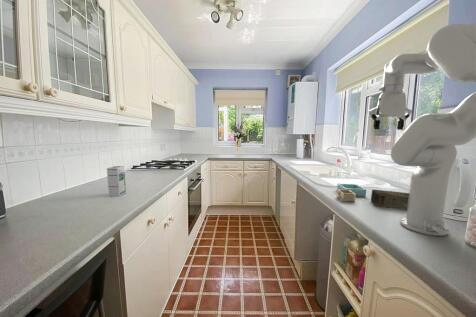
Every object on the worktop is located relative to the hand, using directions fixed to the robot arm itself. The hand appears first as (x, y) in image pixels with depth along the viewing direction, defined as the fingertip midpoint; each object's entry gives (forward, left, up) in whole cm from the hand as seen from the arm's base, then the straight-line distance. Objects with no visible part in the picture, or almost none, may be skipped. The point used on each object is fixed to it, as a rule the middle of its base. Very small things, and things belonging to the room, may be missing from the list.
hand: (388, 129), depth 95 cm
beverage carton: (-1, -6, -36) cm, 36 cm away
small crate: (+5, +14, -35) cm, 38 cm away
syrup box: (-7, +130, -35) cm, 135 cm away
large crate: (+17, +7, -35) cm, 40 cm away
